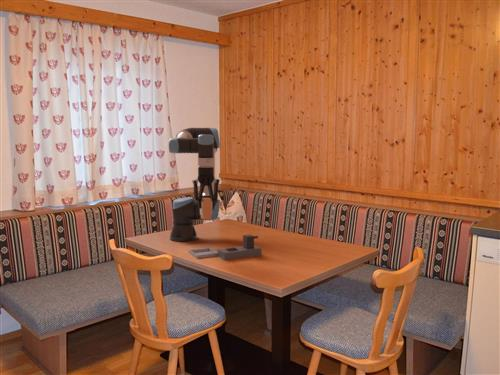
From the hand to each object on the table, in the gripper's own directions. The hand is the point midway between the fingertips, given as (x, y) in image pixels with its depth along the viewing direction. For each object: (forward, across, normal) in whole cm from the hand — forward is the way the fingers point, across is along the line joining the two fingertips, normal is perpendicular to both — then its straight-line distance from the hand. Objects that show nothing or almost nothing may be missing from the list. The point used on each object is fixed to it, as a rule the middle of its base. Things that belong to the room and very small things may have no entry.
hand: (206, 214), depth 226 cm
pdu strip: (+21, +14, -8) cm, 27 cm away
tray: (+21, -1, +1) cm, 21 cm away
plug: (+2, 0, 0) cm, 2 cm away
